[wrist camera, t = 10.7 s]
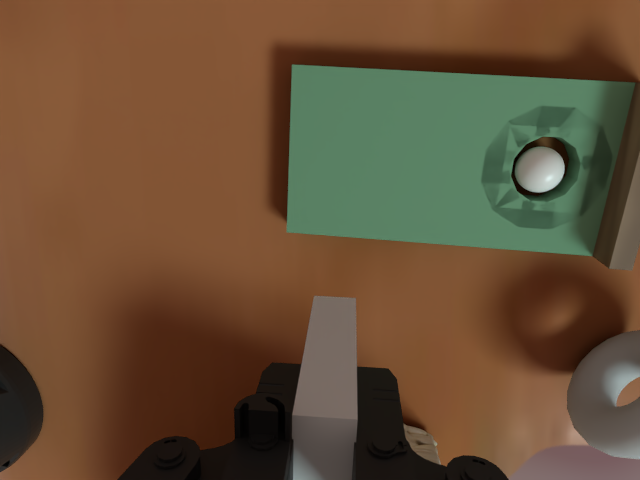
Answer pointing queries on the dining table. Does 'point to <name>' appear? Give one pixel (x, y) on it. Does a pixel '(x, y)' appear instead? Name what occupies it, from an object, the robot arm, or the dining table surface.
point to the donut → (607, 396)
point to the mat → (449, 156)
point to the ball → (539, 169)
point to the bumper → (623, 199)
